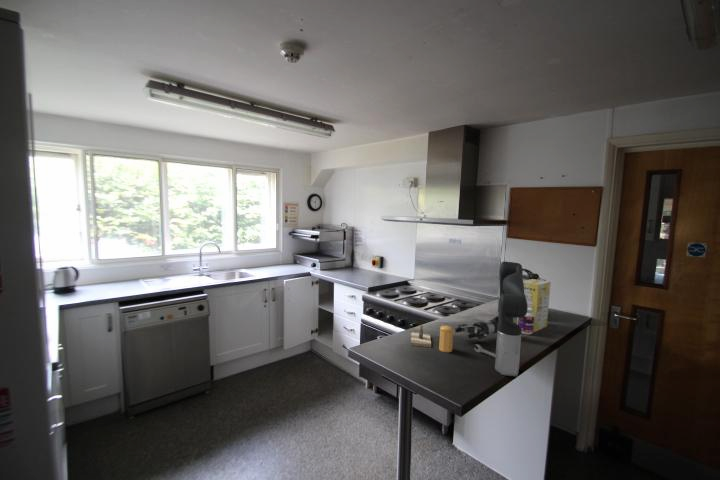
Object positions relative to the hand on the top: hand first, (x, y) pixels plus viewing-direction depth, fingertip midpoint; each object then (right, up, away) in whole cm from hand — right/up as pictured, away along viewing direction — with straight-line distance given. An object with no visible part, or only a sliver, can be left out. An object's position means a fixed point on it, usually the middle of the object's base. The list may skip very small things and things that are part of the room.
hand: (462, 333), depth 160 cm
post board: (-20, -5, +5) cm, 21 cm away
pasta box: (+54, -6, +34) cm, 65 cm away
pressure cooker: (+61, -5, +60) cm, 86 cm away
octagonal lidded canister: (-10, -7, -5) cm, 13 cm away
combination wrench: (+11, -8, -12) cm, 18 cm away
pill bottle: (+44, -7, +23) cm, 50 cm away
